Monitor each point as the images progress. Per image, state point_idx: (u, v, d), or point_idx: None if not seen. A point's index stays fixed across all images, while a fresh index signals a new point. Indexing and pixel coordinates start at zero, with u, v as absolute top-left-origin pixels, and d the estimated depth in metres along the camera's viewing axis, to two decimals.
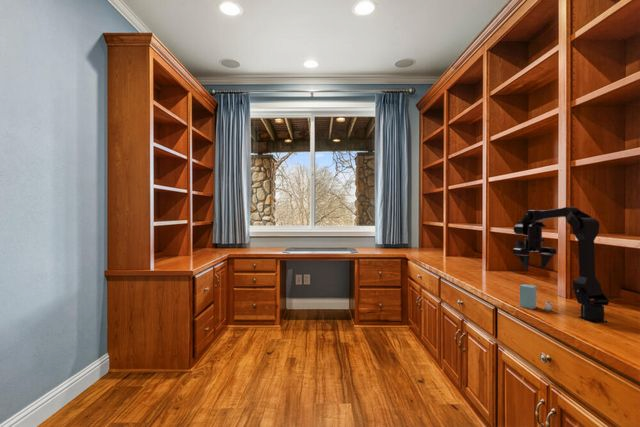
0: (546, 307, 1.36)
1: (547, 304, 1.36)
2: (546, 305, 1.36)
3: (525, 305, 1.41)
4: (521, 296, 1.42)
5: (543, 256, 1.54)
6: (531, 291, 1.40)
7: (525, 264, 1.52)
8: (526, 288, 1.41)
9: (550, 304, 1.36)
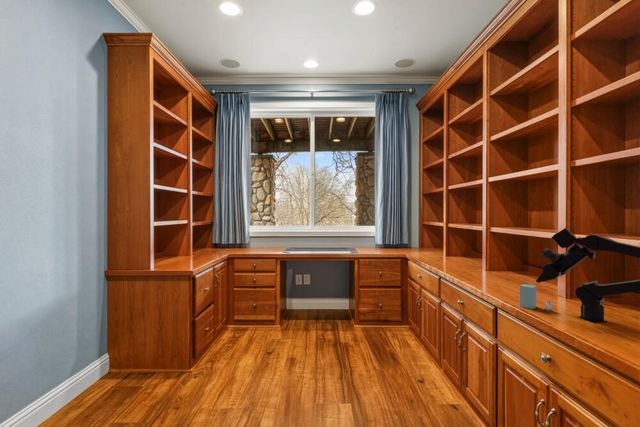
0: (546, 307, 1.36)
1: (547, 304, 1.36)
2: (546, 305, 1.36)
3: (525, 305, 1.41)
4: (521, 296, 1.42)
5: None
6: (531, 291, 1.40)
7: (542, 280, 1.34)
8: (526, 288, 1.41)
9: (550, 304, 1.36)
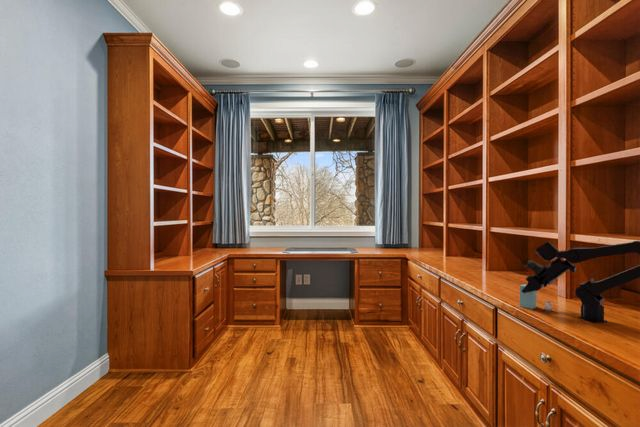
0: (546, 307, 1.36)
1: (547, 304, 1.36)
2: (546, 305, 1.36)
3: (525, 305, 1.41)
4: (521, 296, 1.42)
5: None
6: None
7: (528, 291, 1.39)
8: None
9: (550, 304, 1.36)
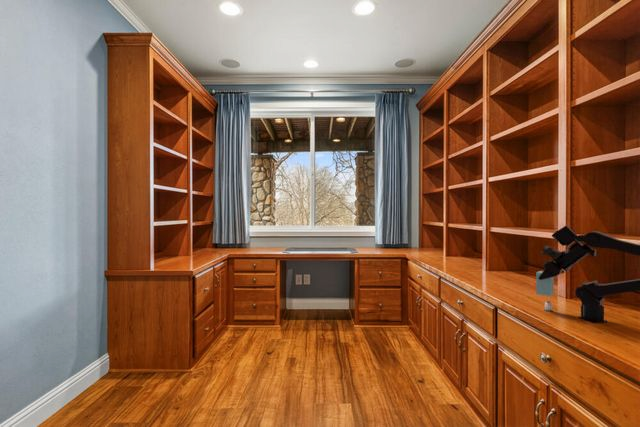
0: (546, 307, 1.36)
1: (547, 304, 1.36)
2: (546, 305, 1.36)
3: (542, 292, 1.36)
4: (538, 283, 1.38)
5: None
6: (548, 278, 1.35)
7: (545, 277, 1.35)
8: None
9: (550, 304, 1.36)
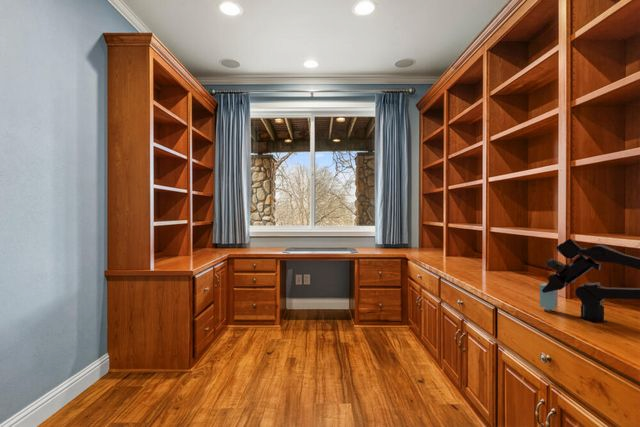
0: None
1: None
2: None
3: (546, 305, 1.35)
4: (541, 296, 1.37)
5: None
6: (552, 291, 1.34)
7: (548, 290, 1.34)
8: None
9: None
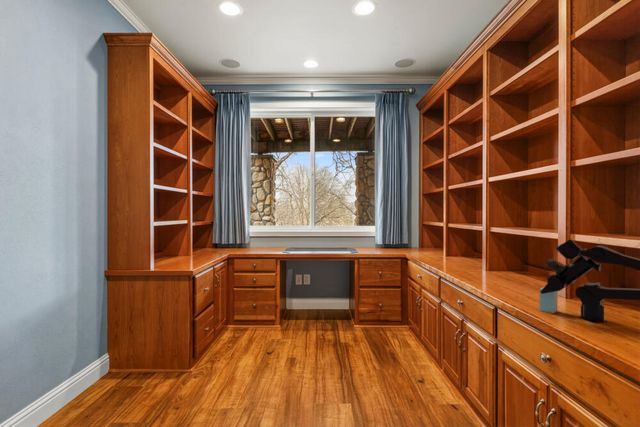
0: None
1: None
2: None
3: (545, 309, 1.35)
4: (541, 300, 1.37)
5: None
6: (551, 295, 1.34)
7: (547, 291, 1.33)
8: None
9: None
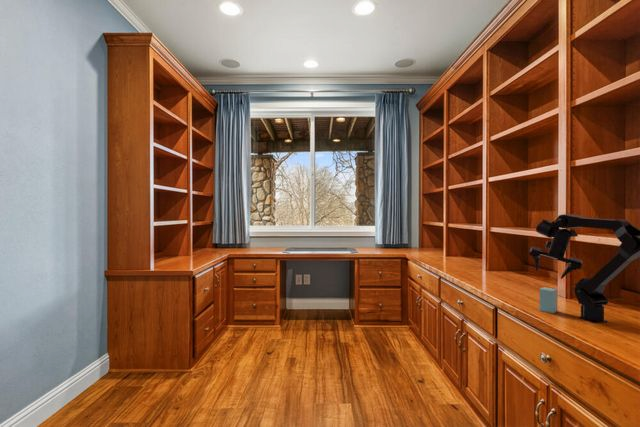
0: None
1: None
2: None
3: (545, 309, 1.35)
4: (541, 300, 1.37)
5: (566, 266, 1.38)
6: (551, 295, 1.34)
7: None
8: (546, 291, 1.35)
9: None
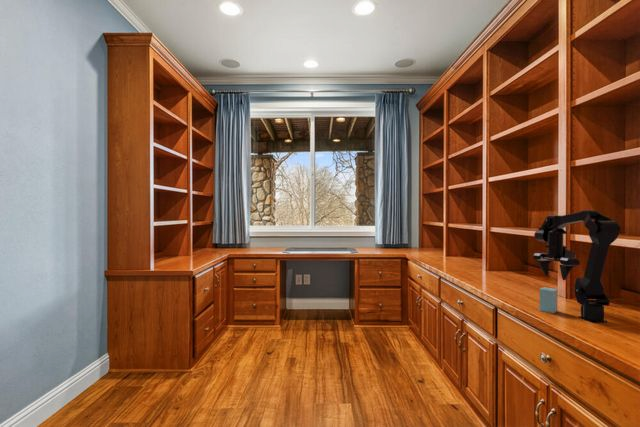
0: None
1: None
2: None
3: (545, 309, 1.35)
4: (541, 300, 1.37)
5: None
6: (551, 295, 1.34)
7: None
8: (546, 291, 1.35)
9: None
